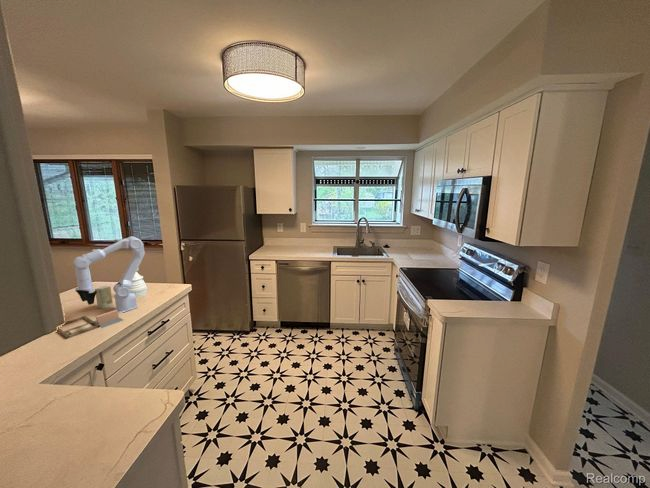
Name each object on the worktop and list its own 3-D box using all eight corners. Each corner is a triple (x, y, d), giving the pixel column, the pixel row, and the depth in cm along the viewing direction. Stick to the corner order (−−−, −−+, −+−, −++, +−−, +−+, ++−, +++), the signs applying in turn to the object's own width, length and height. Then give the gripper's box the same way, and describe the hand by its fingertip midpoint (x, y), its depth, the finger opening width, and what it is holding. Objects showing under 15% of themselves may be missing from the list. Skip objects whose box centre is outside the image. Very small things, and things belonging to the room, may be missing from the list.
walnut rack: (85, 318, 146) (84, 315, 146) (100, 327, 137) (99, 325, 137) (52, 328, 135) (52, 325, 135) (67, 339, 126) (66, 336, 126)
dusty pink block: (117, 317, 147) (115, 309, 146) (118, 318, 146) (117, 310, 145) (97, 324, 140) (95, 316, 139) (98, 325, 139) (97, 317, 138)
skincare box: (103, 309, 157) (100, 289, 155) (97, 308, 158) (94, 289, 156) (113, 304, 163) (110, 286, 161) (108, 303, 164) (105, 285, 162)
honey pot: (145, 289, 188) (142, 265, 184) (149, 294, 179) (145, 269, 175) (123, 293, 180) (119, 268, 176) (125, 299, 170) (121, 273, 167)
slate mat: (114, 315, 150) (113, 314, 150) (124, 320, 144) (124, 320, 144) (92, 322, 142) (91, 321, 142) (102, 328, 136) (101, 328, 136)
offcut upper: (89, 326, 137) (89, 324, 137) (92, 327, 136) (92, 325, 135) (69, 333, 130) (68, 331, 130) (72, 335, 129) (71, 333, 128)
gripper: (68, 278, 142) (73, 302, 144) (80, 283, 135) (84, 308, 137) (85, 274, 148) (89, 297, 150) (97, 279, 141) (101, 303, 143)
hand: (88, 302), depth 144 cm, fingers open, 7 cm apart
